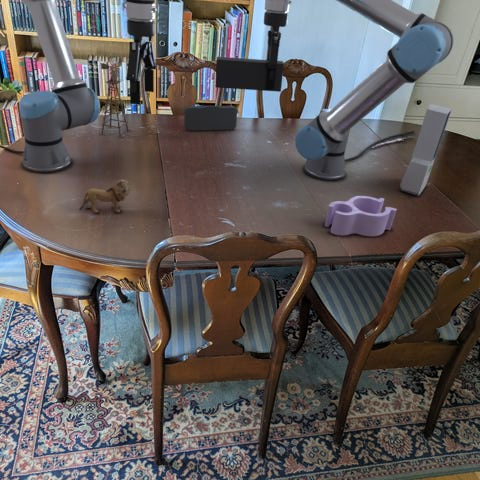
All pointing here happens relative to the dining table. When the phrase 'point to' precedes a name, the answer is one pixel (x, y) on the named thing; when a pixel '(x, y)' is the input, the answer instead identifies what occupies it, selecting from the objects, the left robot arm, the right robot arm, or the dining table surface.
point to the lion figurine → (107, 195)
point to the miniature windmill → (112, 82)
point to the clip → (359, 216)
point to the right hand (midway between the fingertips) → (269, 87)
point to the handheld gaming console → (210, 118)
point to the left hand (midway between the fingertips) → (142, 97)
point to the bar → (246, 74)
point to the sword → (389, 142)
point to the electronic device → (425, 149)
